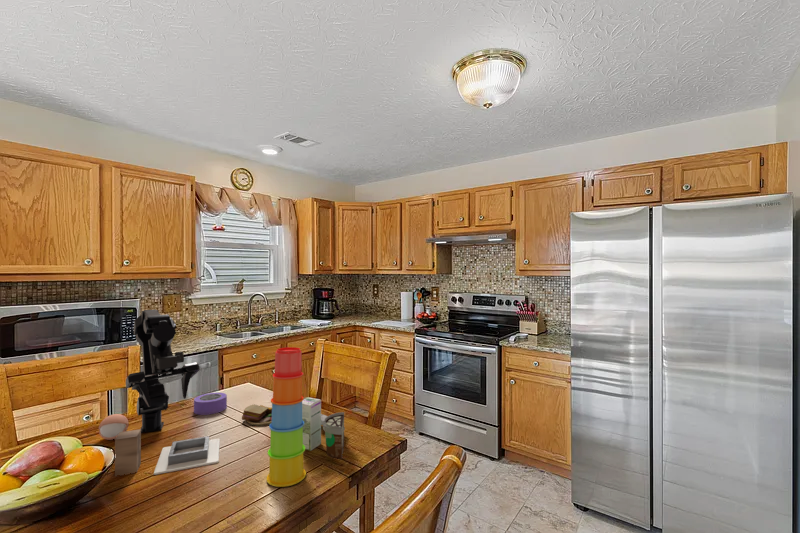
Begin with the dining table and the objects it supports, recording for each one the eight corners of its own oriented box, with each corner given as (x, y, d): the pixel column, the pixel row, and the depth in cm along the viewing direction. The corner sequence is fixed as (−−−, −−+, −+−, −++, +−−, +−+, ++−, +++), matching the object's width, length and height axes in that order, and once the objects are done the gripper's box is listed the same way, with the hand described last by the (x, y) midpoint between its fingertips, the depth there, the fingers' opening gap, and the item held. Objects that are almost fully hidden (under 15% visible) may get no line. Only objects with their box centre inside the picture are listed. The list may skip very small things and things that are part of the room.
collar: (172, 449, 117) (172, 441, 117) (209, 443, 121) (209, 435, 121) (168, 465, 108) (168, 456, 108) (207, 458, 112) (207, 449, 112)
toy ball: (94, 445, 121) (94, 420, 121) (103, 435, 128) (103, 412, 128) (124, 441, 124) (124, 417, 124) (131, 431, 131) (131, 409, 131)
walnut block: (119, 467, 108) (119, 432, 108) (140, 463, 110) (140, 429, 110) (114, 476, 103) (115, 439, 103) (136, 472, 106) (136, 436, 106)
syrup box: (321, 443, 123) (322, 398, 123) (310, 451, 117) (310, 404, 117) (307, 440, 125) (307, 396, 125) (295, 447, 120) (295, 401, 120)
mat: (163, 449, 119) (163, 447, 119) (219, 439, 125) (219, 438, 125) (153, 474, 104) (153, 473, 104) (218, 462, 111) (218, 461, 111)
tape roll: (198, 405, 156) (198, 393, 156) (229, 403, 159) (229, 391, 159) (190, 416, 145) (190, 403, 145) (223, 413, 148) (223, 400, 148)
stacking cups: (258, 478, 102) (259, 350, 102) (291, 463, 110) (291, 344, 110) (280, 493, 96) (280, 356, 96) (313, 476, 104) (314, 349, 104)
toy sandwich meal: (268, 428, 134) (268, 415, 134) (235, 424, 138) (235, 411, 138) (287, 415, 146) (287, 403, 146) (257, 411, 150) (257, 399, 150)
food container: (325, 443, 123) (325, 412, 123) (344, 442, 124) (344, 411, 124) (320, 462, 111) (320, 428, 111) (341, 461, 111) (341, 427, 111)
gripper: (128, 349, 108) (134, 404, 103) (199, 339, 121) (208, 387, 116) (123, 361, 115) (128, 413, 110) (191, 351, 128) (198, 397, 123)
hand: (167, 402), depth 114 cm, fingers open, 9 cm apart
